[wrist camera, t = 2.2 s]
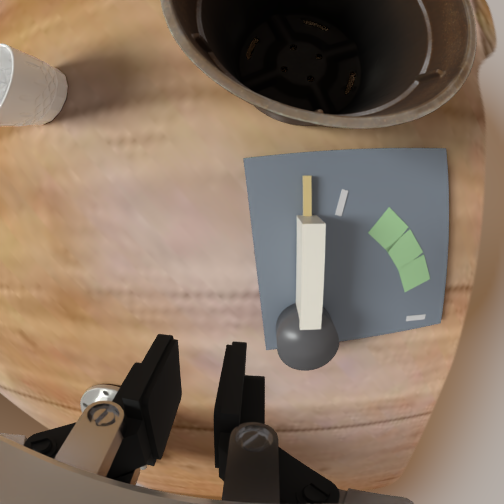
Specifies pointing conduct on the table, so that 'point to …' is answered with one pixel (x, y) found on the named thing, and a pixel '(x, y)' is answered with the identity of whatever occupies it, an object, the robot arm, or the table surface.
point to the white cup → (29, 89)
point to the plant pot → (331, 55)
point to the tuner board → (355, 235)
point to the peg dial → (307, 298)
